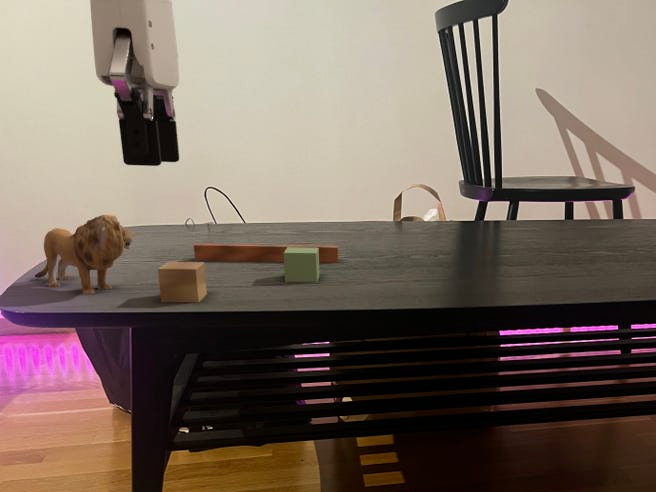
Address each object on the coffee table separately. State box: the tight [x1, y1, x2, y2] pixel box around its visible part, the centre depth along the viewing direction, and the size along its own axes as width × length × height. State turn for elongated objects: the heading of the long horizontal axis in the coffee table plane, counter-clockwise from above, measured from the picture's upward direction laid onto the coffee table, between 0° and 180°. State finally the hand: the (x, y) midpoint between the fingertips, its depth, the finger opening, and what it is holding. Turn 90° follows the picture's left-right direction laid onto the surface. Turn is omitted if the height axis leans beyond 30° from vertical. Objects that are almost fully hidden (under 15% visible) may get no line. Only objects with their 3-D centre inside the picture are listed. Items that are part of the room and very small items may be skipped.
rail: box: [193, 243, 340, 264], centre depth 101 cm, size 20×1×2 cm, turn 98°
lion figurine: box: [34, 214, 135, 295], centre depth 81 cm, size 15×5×9 cm, turn 70°
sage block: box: [283, 247, 320, 283], centre depth 91 cm, size 4×4×4 cm
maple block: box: [157, 261, 208, 303], centre depth 79 cm, size 4×4×4 cm
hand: (153, 161), depth 68 cm, fingers open, 5 cm apart
